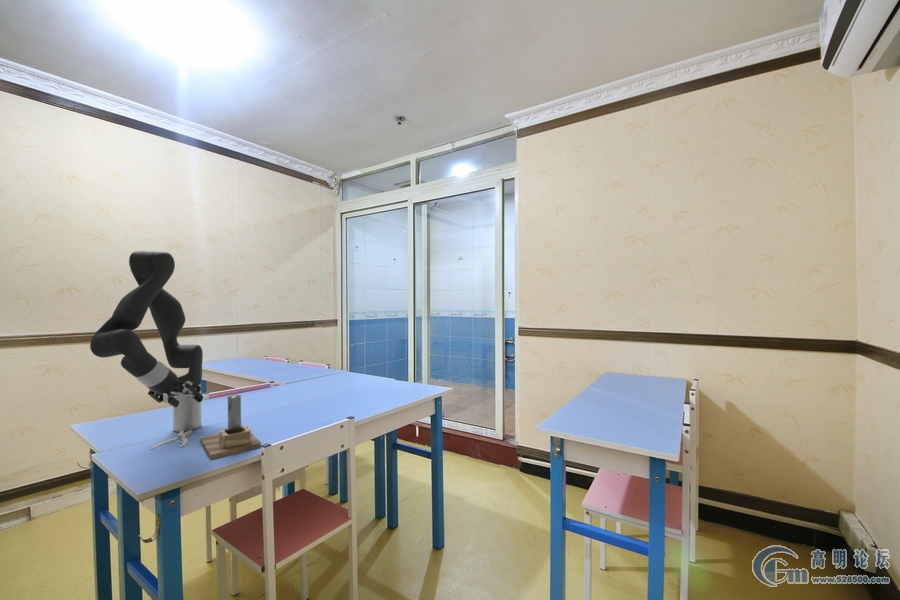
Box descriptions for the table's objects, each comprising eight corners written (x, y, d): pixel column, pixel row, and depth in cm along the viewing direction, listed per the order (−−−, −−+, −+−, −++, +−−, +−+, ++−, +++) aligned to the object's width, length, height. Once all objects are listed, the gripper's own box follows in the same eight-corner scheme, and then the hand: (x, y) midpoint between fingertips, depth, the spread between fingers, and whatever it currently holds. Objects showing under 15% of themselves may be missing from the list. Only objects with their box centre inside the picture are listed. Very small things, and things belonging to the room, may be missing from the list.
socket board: (200, 441, 136) (200, 426, 135) (246, 431, 146) (246, 417, 145) (210, 459, 121) (210, 442, 121) (260, 447, 131) (260, 431, 131)
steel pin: (227, 441, 132) (226, 396, 131) (239, 438, 134) (239, 394, 134) (229, 445, 129) (229, 398, 128) (242, 441, 131) (241, 396, 131)
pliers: (149, 446, 128) (172, 431, 143) (149, 451, 128) (172, 435, 143) (182, 444, 130) (201, 429, 145) (182, 448, 130) (201, 433, 145)
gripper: (182, 361, 120) (212, 389, 131) (140, 370, 120) (174, 397, 131) (172, 381, 114) (205, 408, 125) (128, 390, 115) (164, 416, 126)
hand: (189, 402), depth 128 cm, fingers open, 8 cm apart
